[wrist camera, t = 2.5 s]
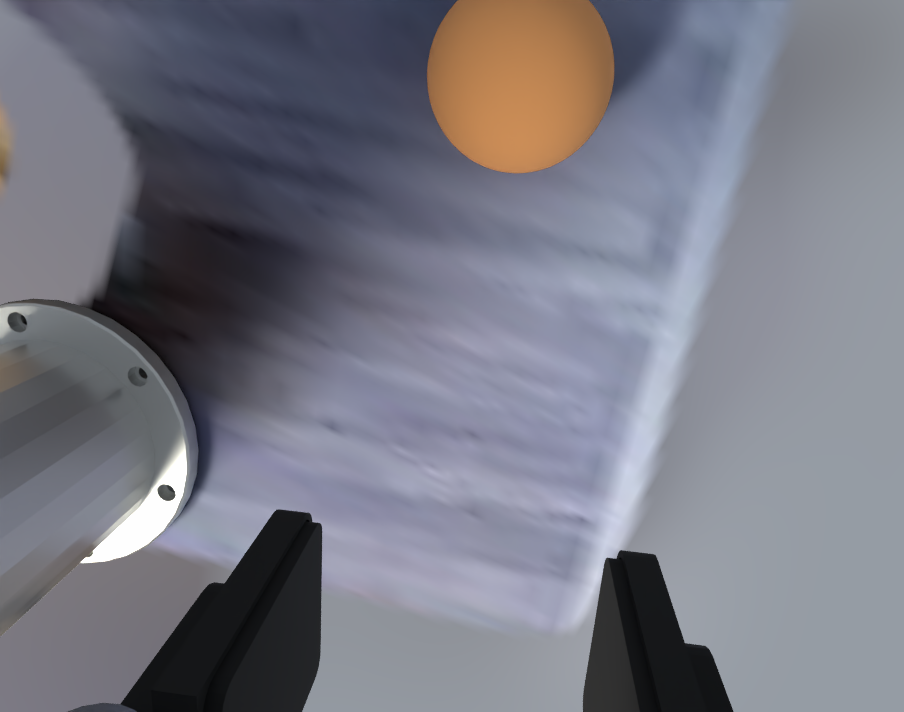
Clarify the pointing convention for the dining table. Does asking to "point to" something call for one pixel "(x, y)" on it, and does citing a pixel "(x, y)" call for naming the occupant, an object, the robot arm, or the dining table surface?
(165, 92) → the dining table surface
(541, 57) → the ball
